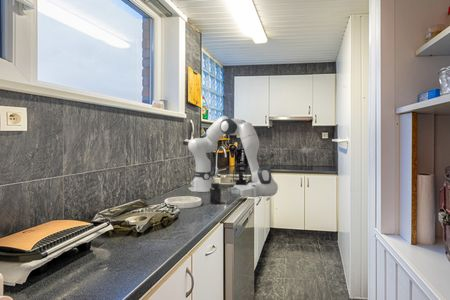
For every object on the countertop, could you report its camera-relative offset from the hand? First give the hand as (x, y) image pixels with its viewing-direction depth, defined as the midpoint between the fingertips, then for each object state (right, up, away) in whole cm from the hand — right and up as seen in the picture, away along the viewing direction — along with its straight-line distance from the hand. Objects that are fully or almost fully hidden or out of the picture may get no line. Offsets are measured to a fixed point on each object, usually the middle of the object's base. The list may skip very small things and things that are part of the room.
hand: (229, 190), depth 198 cm
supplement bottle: (-9, -7, -2) cm, 12 cm away
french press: (+10, -4, +76) cm, 77 cm away
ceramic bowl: (-28, -7, -6) cm, 29 cm away
